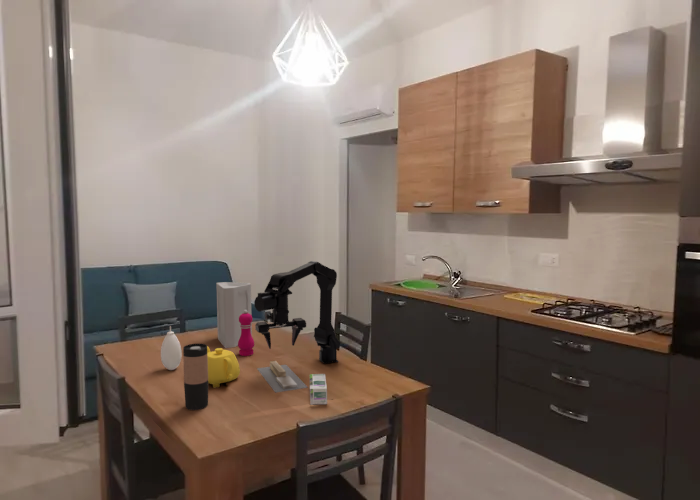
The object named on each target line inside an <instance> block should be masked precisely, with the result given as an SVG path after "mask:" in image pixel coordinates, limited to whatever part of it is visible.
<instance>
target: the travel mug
mask: <svg viewBox="0 0 700 500" xmlns="http://www.w3.org/2000/svg"><path fill="white" fill-rule="evenodd" d="M207 346H208V345H207V343H206V344H205V343H190V344H186V345H184V346H183V347H182V348H183V349H182V352H183V353H182V355H183V356H182V357H183V389H184V405H185V409H186V410H189V411H199V410H203V409H205V408H207V407H208V406H209V383H208V357H207Z"/></svg>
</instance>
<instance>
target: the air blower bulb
mask: <svg viewBox="0 0 700 500" xmlns="http://www.w3.org/2000/svg"><path fill="white" fill-rule="evenodd" d="M182 352H183V350H182V346H181V342H180V341H179V339H178V337H177V335H176V334H175V332H174V331H172V326H171V325H169V331H168V332H167V333H166V335H165V337H164V339H163V340H162V344H161V347H160V360H161V363H162V365H163V366H164V368H166V369H167V370H169V371H174V370H175V369H177V367H179V366H180V363H181V362H182V357H183V356H182V355H183V353H182Z"/></svg>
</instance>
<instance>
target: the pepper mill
mask: <svg viewBox="0 0 700 500" xmlns="http://www.w3.org/2000/svg"><path fill="white" fill-rule="evenodd" d="M247 312H248V311H247V310H244V313H243V314H241V315H240V316H239V322H240V323H241V324H240V328H241V336H240V339H239V341H238V346H237V348H239V350H238V352H239V353H238V355H239V356H242V357H249V356H252V355H253V354H254V349H253V348H254V347H255V340H254V337H253V334H252V335H251V327H252V326H251V325H252V324H253V323H252V324H251V322H253V316H252V313H251V314H249V313H247Z"/></svg>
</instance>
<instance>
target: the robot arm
mask: <svg viewBox="0 0 700 500" xmlns="http://www.w3.org/2000/svg"><path fill="white" fill-rule="evenodd" d="M337 273H338V272H337V271H336V270H335V269H333V268H330V267H328V266H326V265H324V264H322V263H321V262H319V261H313V260H311V261H308V262H307V263H306V264H303V265H301V266H298V267H295V268H294V269H291V270H289V271H287V272H286V271H285V272H278V273H273V274H272V275H270V278H269V282H268V283H267V285H266V288H265V289H264V292H257V296H256V297H255V298H254V301H253V303H254V304H253V305H254V308H255V310H256V311H257V312H264V318H265V321H260V322H256V323H255V325H254V326H255V331H256V332H257V333H259V334H261V335H263V336H264V339H265V341H266V343H267V344H266V345H267V347H268V349H269V350H271V349H272V348H271V347H272V341H271V332H270V330H271V329H279V328H288V327H291V330H292V331H291V334H292V335H291V346H295V344H296V342H297V339H298V336H299V335H300V333H301V331H303V330H304V328H307V321H306V320H305V319H303V318H302V317H296V318H292V321H291V320H289V314H290V310H289V296H290V295H292V294H293V292H292V291H291V290H290V288H291V287H293V285H294V284H295V282H298V281H300V280H301V279H304V278H306V277H308V276H309V275H313V276H314V277H316V283H317V286H318V288H319V291H320V293H319V322H318V323H319V324H318V325H317V327H314V329H313V330H314V332H313V333H314V334H313V338H314V339H315V342H316V343H317V346H318V347H320V348H319V351H318V353H319V355H318V360H319V361H320V362H321V363H323V364H325V365H326V364H330V363H338V362H339V360H338V359H337V351H338V350H337V349H339V348H340V345H341V341H340V340H339V339H338V338H337V337H336V332H335V331H336V330H335V328H334V326H333V324H332V315H333V314H332V311H333V310H332V307H333V289H334V287H335V286H336V284H337V277H338V274H337ZM271 310H272V312H271ZM267 321H269V322H270V323H268V322H267Z"/></svg>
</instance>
